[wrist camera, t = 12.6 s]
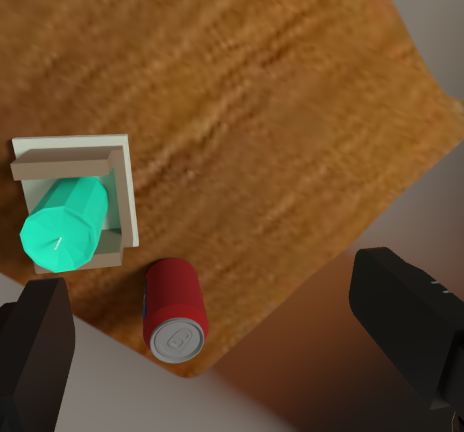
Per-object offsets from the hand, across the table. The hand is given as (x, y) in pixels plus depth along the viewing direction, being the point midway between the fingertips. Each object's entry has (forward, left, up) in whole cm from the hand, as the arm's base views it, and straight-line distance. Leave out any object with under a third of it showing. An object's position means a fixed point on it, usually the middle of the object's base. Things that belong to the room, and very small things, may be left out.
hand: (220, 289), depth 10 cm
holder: (+8, -10, -33) cm, 35 cm away
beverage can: (+20, -1, -33) cm, 38 cm away
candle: (+8, -10, -32) cm, 34 cm away
